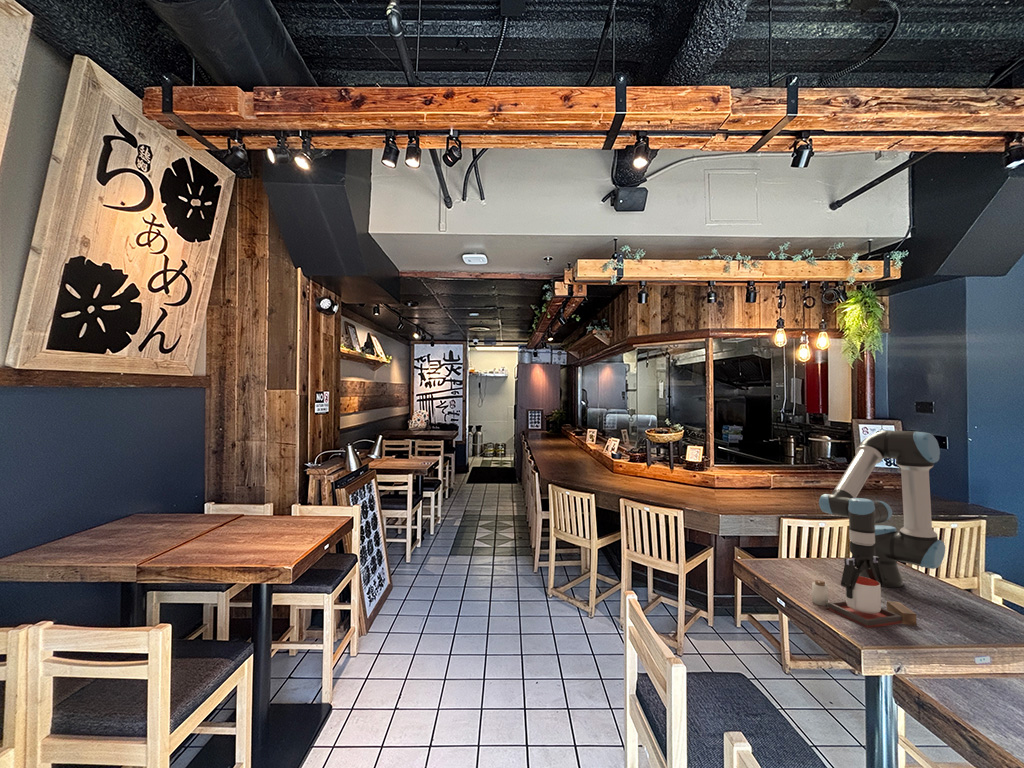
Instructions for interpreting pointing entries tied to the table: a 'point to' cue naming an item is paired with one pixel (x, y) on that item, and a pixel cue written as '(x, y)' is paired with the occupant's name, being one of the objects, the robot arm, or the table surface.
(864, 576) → the robot arm
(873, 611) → the cup
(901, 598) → the table surface
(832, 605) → the tray
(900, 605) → the box
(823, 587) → the ceramic jar
